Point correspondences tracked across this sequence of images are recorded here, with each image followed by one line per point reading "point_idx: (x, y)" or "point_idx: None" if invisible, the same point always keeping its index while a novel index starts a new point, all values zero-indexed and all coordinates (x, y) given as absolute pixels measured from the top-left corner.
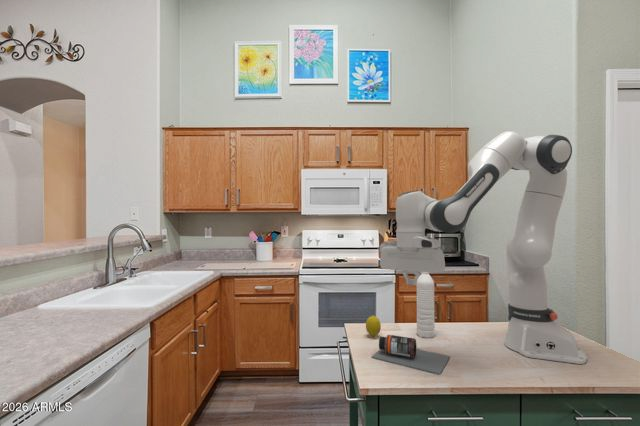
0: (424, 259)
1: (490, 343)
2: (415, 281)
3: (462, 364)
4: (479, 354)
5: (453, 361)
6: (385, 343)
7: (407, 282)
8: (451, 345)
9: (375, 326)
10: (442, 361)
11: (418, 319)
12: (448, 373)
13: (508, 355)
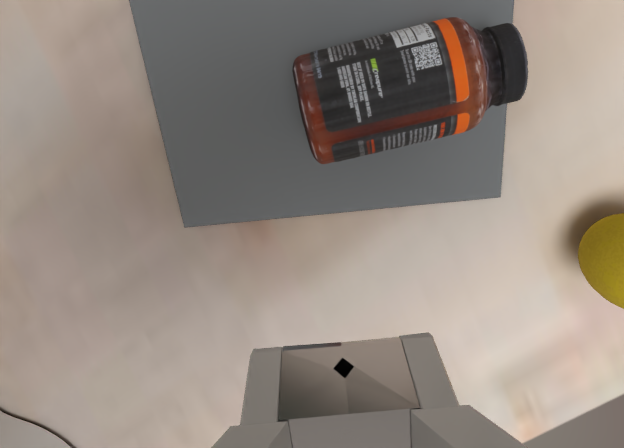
0: None
1: (126, 441)
2: (244, 408)
3: (112, 185)
4: (108, 323)
5: (155, 191)
6: (468, 24)
7: (414, 358)
8: (236, 344)
9: (615, 240)
10: (183, 146)
11: None
12: (112, 47)
13: (26, 374)
